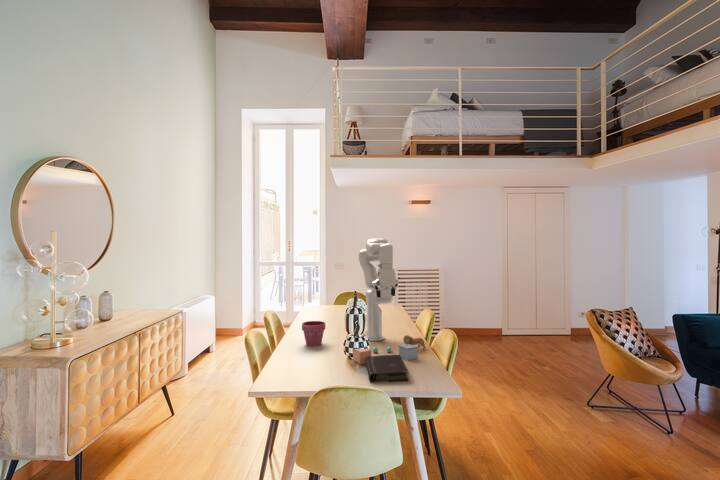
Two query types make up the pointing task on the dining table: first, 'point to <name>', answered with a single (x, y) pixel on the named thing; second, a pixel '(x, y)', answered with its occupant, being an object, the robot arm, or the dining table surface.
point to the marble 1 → (375, 350)
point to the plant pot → (313, 332)
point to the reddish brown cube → (361, 355)
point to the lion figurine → (414, 341)
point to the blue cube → (408, 352)
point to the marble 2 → (389, 349)
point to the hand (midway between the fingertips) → (385, 296)
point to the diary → (386, 368)
